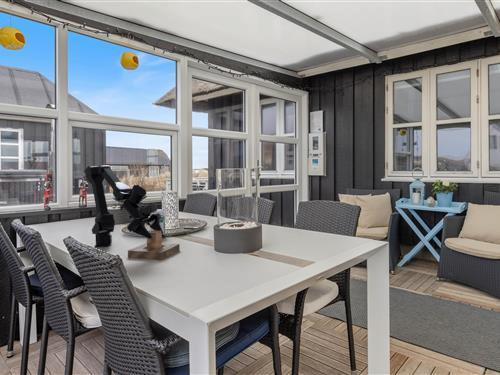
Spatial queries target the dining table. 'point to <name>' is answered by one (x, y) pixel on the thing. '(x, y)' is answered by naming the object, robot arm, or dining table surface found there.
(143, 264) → the dining table surface
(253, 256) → the dining table surface
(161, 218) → the syrup box
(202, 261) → the dining table surface
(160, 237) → the terracotta peg
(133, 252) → the walnut hole board
